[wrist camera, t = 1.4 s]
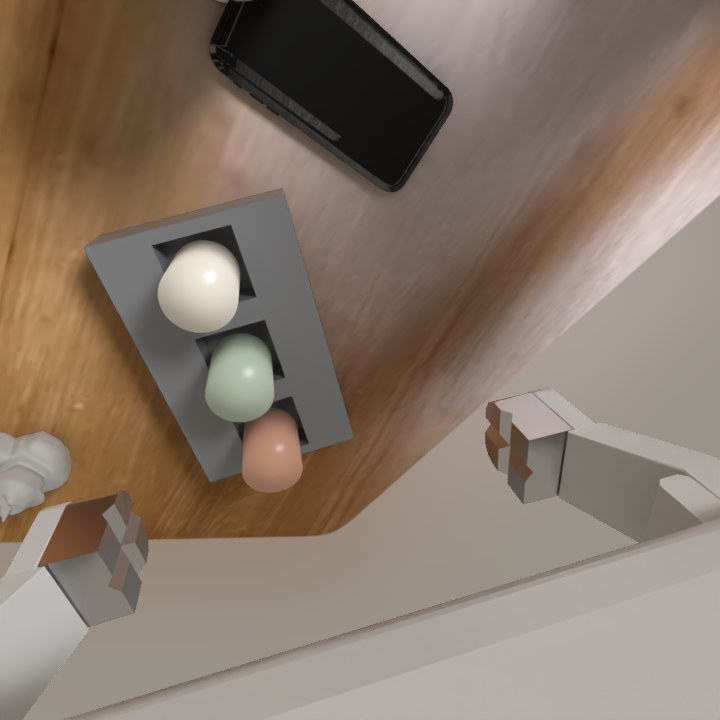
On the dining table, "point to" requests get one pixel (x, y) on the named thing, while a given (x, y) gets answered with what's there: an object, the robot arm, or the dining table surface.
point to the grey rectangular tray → (253, 316)
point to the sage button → (240, 378)
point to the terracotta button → (271, 452)
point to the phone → (335, 81)
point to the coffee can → (225, 0)
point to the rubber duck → (30, 470)
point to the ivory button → (200, 287)
